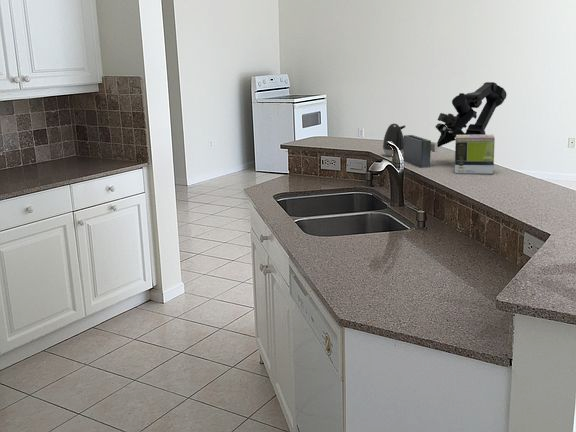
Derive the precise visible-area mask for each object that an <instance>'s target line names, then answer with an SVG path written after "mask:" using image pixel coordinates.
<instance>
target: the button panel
mask: <svg viewBox="0 0 576 432" xmlns="http://www.w3.org/2000/svg"><path fill="white" fill-rule="evenodd" d="M403 137H404V144H403V153H402V155H403V157H402V159H403V158H404V160H403V161H404V162H407V163H409V164H412V165H414V166H416V167H418V166H419V168H431V154H432V151H431V142H432V140H429V139H427V138H424V137H420V136H417V135H414V134H408V135H407V134H406V135H405V134H403Z"/></svg>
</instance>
